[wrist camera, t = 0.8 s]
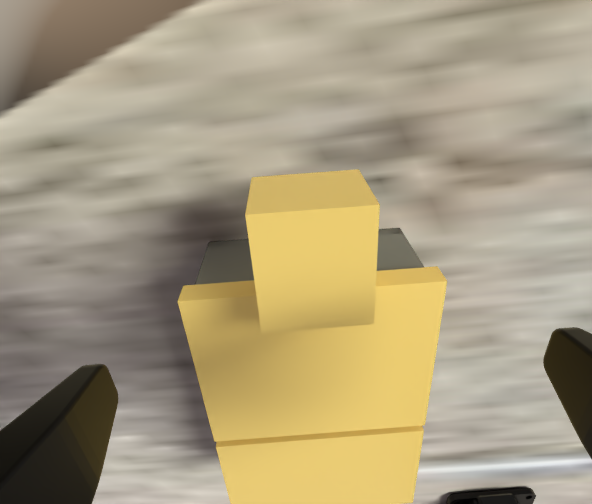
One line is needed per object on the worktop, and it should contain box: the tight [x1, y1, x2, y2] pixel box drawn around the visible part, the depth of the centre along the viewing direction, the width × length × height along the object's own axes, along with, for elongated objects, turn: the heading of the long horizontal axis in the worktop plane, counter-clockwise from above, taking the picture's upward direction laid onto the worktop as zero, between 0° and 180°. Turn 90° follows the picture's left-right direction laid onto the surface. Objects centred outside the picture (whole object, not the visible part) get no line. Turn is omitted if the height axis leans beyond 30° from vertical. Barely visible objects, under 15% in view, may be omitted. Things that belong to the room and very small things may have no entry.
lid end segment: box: [178, 169, 447, 442], centre depth 14 cm, size 12×10×3 cm
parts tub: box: [195, 228, 424, 504], centre depth 20 cm, size 14×10×5 cm
